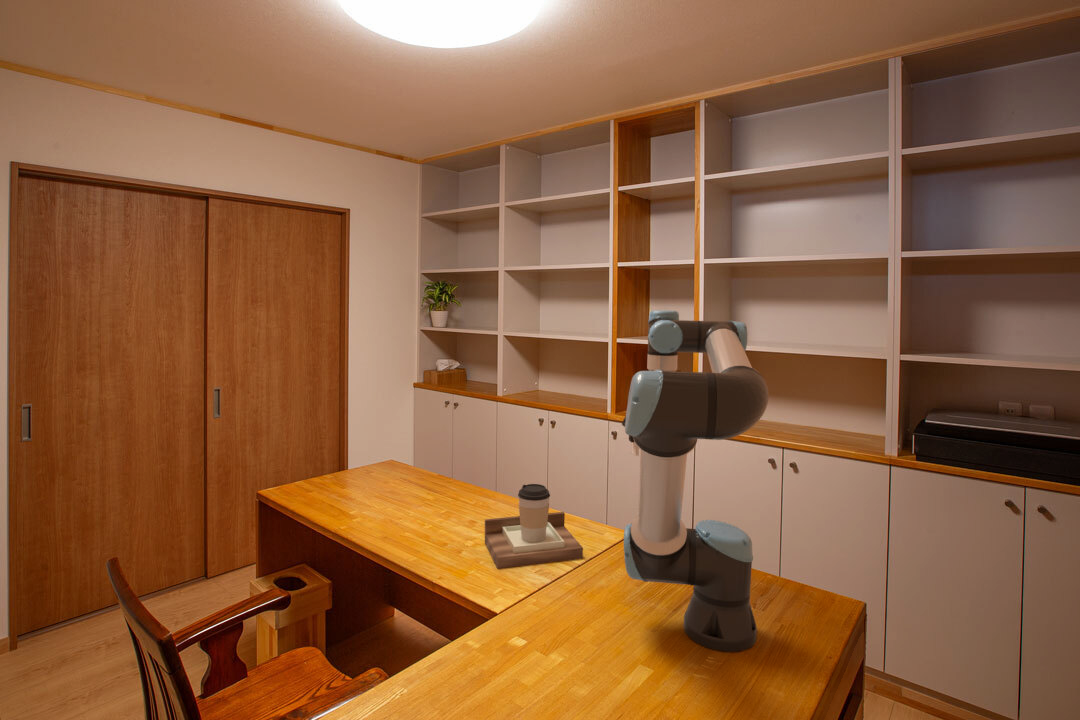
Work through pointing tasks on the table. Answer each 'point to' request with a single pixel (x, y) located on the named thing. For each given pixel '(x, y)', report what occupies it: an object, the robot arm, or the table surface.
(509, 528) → the tray
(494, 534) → the shelf
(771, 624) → the table surface
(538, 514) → the coffee cup
